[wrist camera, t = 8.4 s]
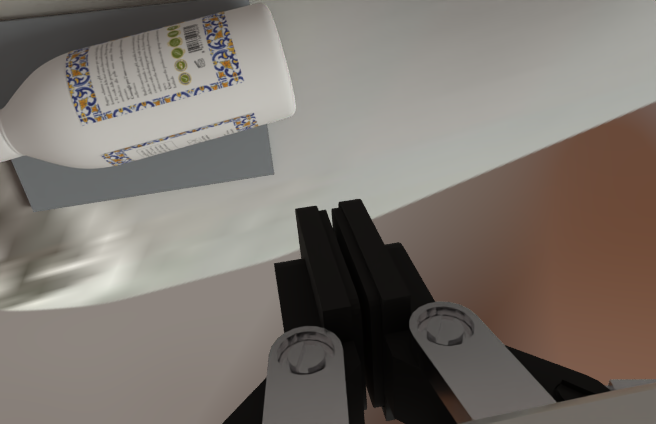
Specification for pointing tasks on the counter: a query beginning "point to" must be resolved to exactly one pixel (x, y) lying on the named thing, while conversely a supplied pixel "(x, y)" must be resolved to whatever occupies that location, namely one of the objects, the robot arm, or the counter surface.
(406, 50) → the counter surface
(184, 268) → the counter surface
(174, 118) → the bath foam
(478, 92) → the counter surface
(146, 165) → the mat
